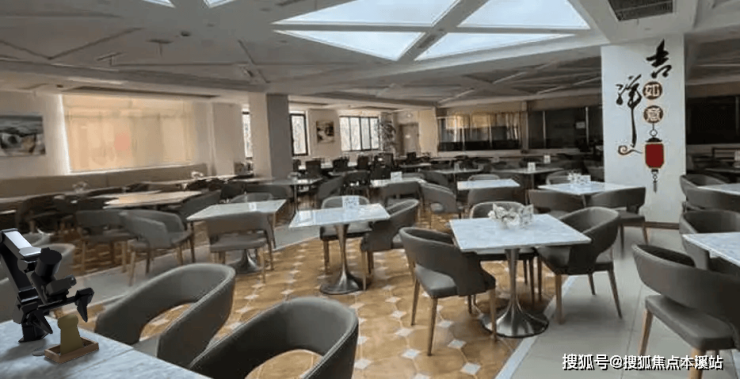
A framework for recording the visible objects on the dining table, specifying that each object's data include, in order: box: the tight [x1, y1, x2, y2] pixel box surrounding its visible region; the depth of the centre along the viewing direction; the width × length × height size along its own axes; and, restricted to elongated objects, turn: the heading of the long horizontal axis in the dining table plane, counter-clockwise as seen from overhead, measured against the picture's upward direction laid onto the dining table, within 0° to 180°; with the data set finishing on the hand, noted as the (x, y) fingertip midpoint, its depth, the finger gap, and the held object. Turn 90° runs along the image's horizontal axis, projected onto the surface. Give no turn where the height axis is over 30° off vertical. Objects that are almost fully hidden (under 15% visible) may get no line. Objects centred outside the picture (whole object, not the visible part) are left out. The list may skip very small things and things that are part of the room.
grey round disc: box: [32, 343, 60, 357], centre depth 139 cm, size 7×7×1 cm
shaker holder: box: [44, 336, 100, 365], centre depth 136 cm, size 10×10×2 cm
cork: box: [56, 313, 85, 355], centre depth 135 cm, size 6×6×11 cm
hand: (70, 327), depth 135 cm, fingers open, 9 cm apart
